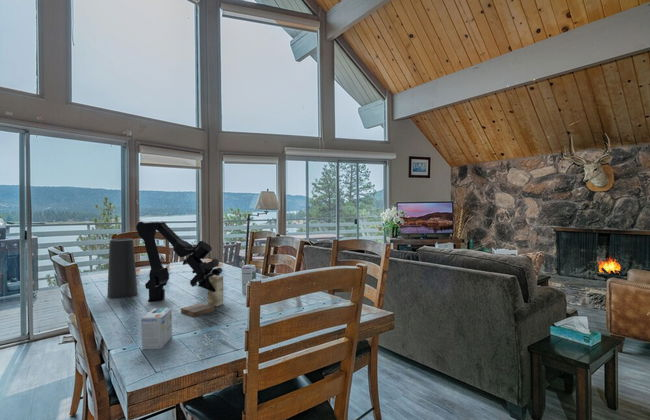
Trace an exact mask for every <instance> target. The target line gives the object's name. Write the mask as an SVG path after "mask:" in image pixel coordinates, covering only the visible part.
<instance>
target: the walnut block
mask: <svg viewBox="0 0 650 420" xmlns="http://www.w3.org/2000/svg"><path fill="white" fill-rule="evenodd" d="M212 312H215V306H210V305H208V304H206V303H202V302H199V303H196V304H193V305H188V306H184V307H181V308H180V313H181V314H184V315H187V316H190V317H192V318H196V317H199V316H203V315H206V314H207V315H208V314H210V313H212Z"/></svg>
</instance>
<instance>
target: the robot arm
mask: <svg viewBox="0 0 650 420" xmlns="http://www.w3.org/2000/svg"><path fill="white" fill-rule="evenodd" d="M135 229H136V232H137V234H138V236H139V237H140V238H141V239H142V240H143V244H144V246H145V247H144V248H145V252H146V254H147V259H148V261H149V266H150V271H149V273H148V275H149V276H148V277H149V279H148V281H147V282H146V283H145V284H144V286H145V289H147V290H148V299H147V302H159V301H160V302H162V301H163V300H164V299H165V297H166V289H165V288H164V287H165V286H167V284H168V280H170V277H169V276H170V274H169V270H168V267H164V266H163V264H162V262H161V259H160V253H159V249H158V246H157V243H156V239H155V236H156V233H157V231H158V233H159V234H160V235H162V237H163V238H164V239H165V240H166V241H167V242H168V243H170V245H171V246H172V247H173V251H174V253H175V254H176V255H177V257H178V258H183V259H182V260H183V262H182V265H183V266H185V265H188V266H189V267H190V268H191V269H192V271H191V272H192V274H195V275H194V276H193V277H192V279H190V281H189V284H190V285H191V287H192V288H193V287H196V286H197V287H200V288H203V289H205V290H207V291H208V290H210V291H212V292H215V291H216V290H215V289H214V287H213V286H212V284H211V283H210V281H209V277H211V276H213V275H216V276H220V275H221V273H222V272H223V269H222V268H221V267H219V266H220V265H219V264H220V261H219V260H218V259H217V258H213V259H211V261H209V262H206V261H205V262H204V261H203V260H204V259H205V258H206V257H208V255H209V254H210V253H211V251H212V250H213V248H212V246H211V244H208V243H207V242H206V241H205V242H204V240H199V241H198V243H197V244H196V246H193V245H192V244H191V243H189V242H188V241H186V240H184V239H182V238H180V236H179V235H178V234H176V233H175V231H173V230H172V229H171V228H170V226H168V225H167V223H166V221H163V220H162V221H156V222H155V221H154V222H153V221H151V220H145V221H139V222H138V223H137V224H136V227H135Z"/></svg>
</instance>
